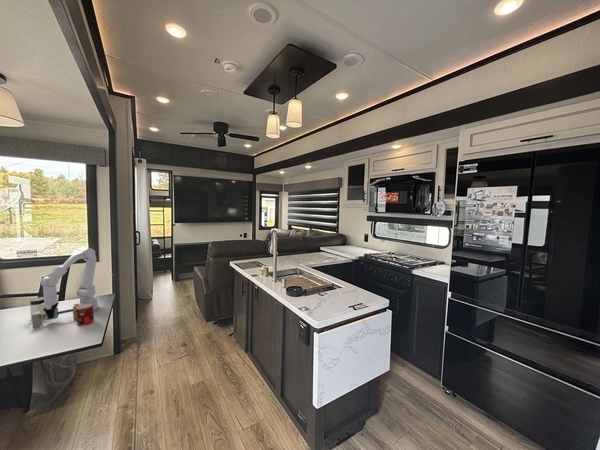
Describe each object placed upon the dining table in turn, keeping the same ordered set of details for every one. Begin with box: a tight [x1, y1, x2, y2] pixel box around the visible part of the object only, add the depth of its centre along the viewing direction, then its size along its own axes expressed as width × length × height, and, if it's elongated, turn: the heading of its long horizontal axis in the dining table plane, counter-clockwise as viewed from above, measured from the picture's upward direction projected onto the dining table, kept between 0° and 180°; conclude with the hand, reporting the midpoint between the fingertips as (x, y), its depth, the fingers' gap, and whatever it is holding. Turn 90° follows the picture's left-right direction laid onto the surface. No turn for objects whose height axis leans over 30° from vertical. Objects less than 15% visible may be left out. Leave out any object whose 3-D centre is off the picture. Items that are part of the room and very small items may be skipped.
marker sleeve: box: [44, 307, 60, 321], centre depth 153 cm, size 5×5×5 cm
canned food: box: [76, 304, 95, 327], centre depth 153 cm, size 8×8×11 cm
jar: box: [29, 296, 46, 320], centre depth 162 cm, size 9×8×12 cm
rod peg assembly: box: [31, 302, 80, 329], centre depth 155 cm, size 21×8×8 cm, turn 127°
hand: (52, 316), depth 153 cm, fingers closed on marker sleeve, 5 cm apart
